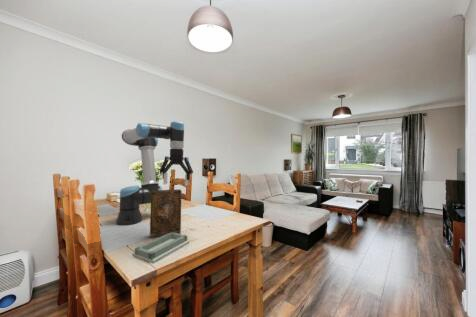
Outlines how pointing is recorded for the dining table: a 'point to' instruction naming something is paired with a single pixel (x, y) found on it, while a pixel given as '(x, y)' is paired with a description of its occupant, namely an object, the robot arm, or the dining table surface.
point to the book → (165, 212)
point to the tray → (161, 247)
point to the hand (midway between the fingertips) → (175, 184)
